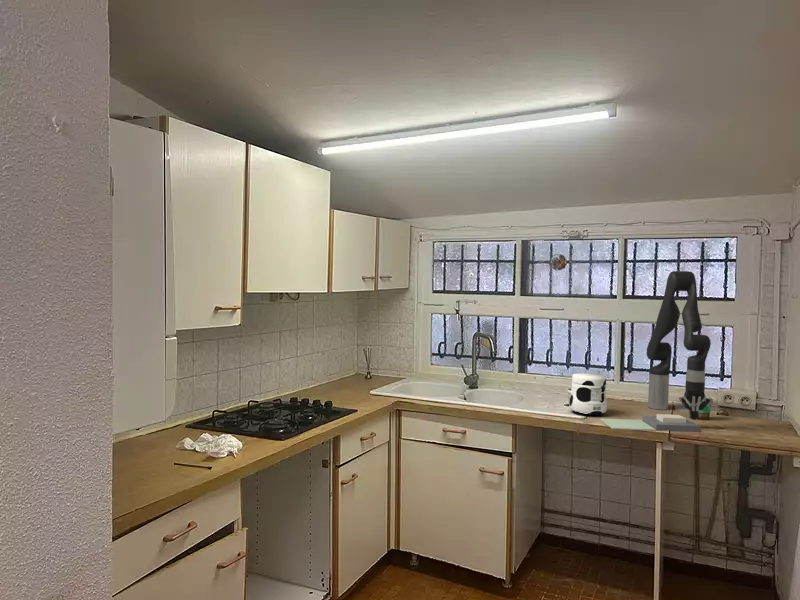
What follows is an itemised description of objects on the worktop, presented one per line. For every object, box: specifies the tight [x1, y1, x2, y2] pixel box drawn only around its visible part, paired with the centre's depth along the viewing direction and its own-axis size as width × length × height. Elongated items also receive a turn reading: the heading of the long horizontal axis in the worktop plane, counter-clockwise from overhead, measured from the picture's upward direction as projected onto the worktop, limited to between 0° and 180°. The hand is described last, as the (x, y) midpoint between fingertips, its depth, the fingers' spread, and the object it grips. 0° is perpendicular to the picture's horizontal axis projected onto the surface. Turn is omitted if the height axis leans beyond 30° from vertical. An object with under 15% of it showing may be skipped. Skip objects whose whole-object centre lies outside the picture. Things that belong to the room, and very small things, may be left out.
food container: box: [688, 395, 714, 421], centre depth 277 cm, size 12×6×10 cm, turn 105°
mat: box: [600, 418, 656, 431], centre depth 262 cm, size 17×18×1 cm
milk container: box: [568, 372, 608, 416], centre depth 283 cm, size 17×17×18 cm
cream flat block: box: [656, 413, 687, 423], centre depth 261 cm, size 7×10×2 cm
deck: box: [641, 415, 700, 433], centre depth 261 cm, size 16×18×2 cm
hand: (693, 419), depth 261 cm, fingers closed
